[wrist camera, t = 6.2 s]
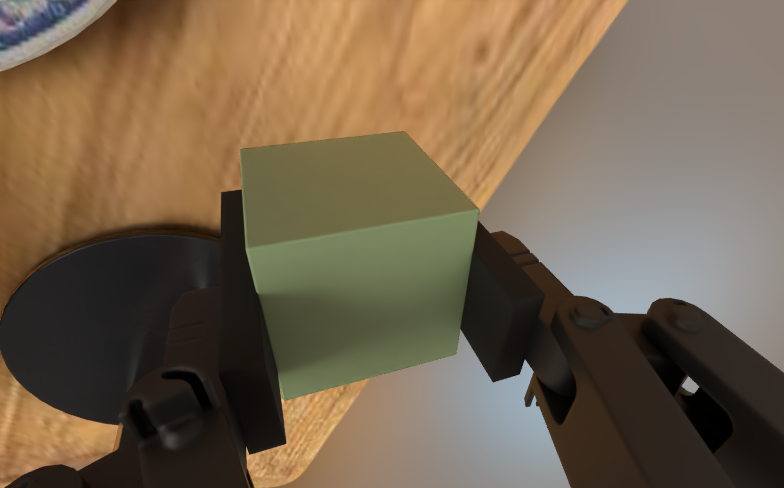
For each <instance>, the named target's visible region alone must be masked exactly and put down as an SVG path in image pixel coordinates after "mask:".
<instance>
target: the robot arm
mask: <svg viewBox="0 0 784 488" xmlns="http://www.w3.org/2000/svg"><path fill="white" fill-rule="evenodd" d="M460 329H461V330H462V332H463V334H464V336H465V337H466V339H467V340H468V342H469V344H470V345H471V347H472V349H473V350H474V352H475V353H476V355H477V357H478V358H479V360H480V362H481V363H482V365H483V367H484V368H485V370H486V372H487V373H488V375H489V377H490V378H491V380H492V382H496V381H499V380H503V379H506V378H509V377H513V376H516V375H519V374H520V372H521V369H522V366H523V363H524V360H526V361H527V363H528V364H529V365H530V367H531V368H532V370H533V371H534V373H533V376H532V378H531V381H530V384H529V387H528V390H527V392H526V395H525V398H524V399H525V406H526V407H529V406H530V405H531V403H532V400H533V397H534V395H535V397H536V400H537V402H536V406H539V407H540V410H541V412H542V415H543V417H544V420H545V422H546V425H547V428H548V430H549V433H550V435H551V438H552V440H553V443H554V446H555V448H556V451H557V453H558V455H559V458H560V461H561V463H562V466H563V469H564V471H565V473H566V476H567V479H568V481H569V484H570V486H571V488H784V373H783V372H782V371H781V370H779V369H778V368H777V367H775V366H774V365H773V364H772V363H770V362H769V361H768V360H767V359H765V358H764V357H763V356H761V355H760V354H759V353H758V352H756V351H755V350H754V349H752V348H751V347H750V346H749V345H747V344H746V343H745V342H743V341H742V340H741V339H740V338H738V337H737V336H736V335H734V334H733V333H732V332H730V331H729V330H728V329H727V328H725V327H724V326H723V325H722V324H720V323H719V322H718V321H717V320H715V319H714V318H713V317H711V316H710V315H709V314H707V313H706V312H705V311H703V310H701V309H700V308H698V307H696V306H695V305H693V304H690V303H688V302H685V301H683V300H678V299H672V298H664V299H658V300H656V301H655V302H653V303H652V304H651V306H650V308H649V310H648V312H647V314H628V313H613V311H612V310H610V308H609V307H607V306H606V305H604V304H602V303H600V302H599V301H597V300H594V299H591V298H588V297H583V296H574V295H573V294H572V293H571V292H570V291H569V290H568V289H567V288H566V287H565V286H564V285H563V284H562V283H561V282H560V281H559V280H558V279H557V278H556V277H555V276H554V275H553V274H552V273H551V272H550V271H549V270H548V269H547V268H546V267H545V266H544V265H543V264H542V263H541V262H540V263H539V260H538V259H537V258H536V257H535V256H534V255H533V254H532V253H530V251H529V250H528V249H527V248H526V247H525V246H524V244H523V243H521V241H520V240H519V239H517V238H515V237H513V236H511V235H509V234H508V233H506V232H504V231H499V232H494V233H489V232H488V231H487V230H486V229H485V227H484V226H483V225H482V224H481V223H480V222H479V221H478V224H477V230H476V237H475V243H474V249H473V253H472V259H471V265H470V271H469V277H468V283H467V289H466V295H465V302H464V308H463V314H462V320H461V326H460ZM166 342H167V345H166V348H165V354H164V361H163V366H162V367H159V368H157V369H155V370H153V371H152V372H150V373H148V374H146V375H144V376H143V377H142V378H141V379H139V380H138V381H137V382H136V383H135V384H134V385H133V386H132V387H131V388H130V389H129V390H128V392H127V393H126V395H125V397H124V398H123V400H122V402H121V403H120V409H119V415H118V419H119V420H120V422H121V423H122V424H123V426H124V427H125V429H126V430H127V432H128V433H129V434H130V436H131V437H132V439H131V440H130V441H129V442H128V443H126V444H125V445H123V446H122V447H120V448H118V449H117V450H115V451H114V452H112V453H110V454H108V455H106V456H104V457H103V458H101V459H99V460H97V461H95V462H93V463H92V464H90V465H88V466H86V467H84V468H82V469H81V470H79V471H76V470H75V469H74V468H71V467H68V466H65V465H62V464H60V465H51V466H43V467H41V468H38V469H36V470H34V471H31V472H29V473H27V474H24V475H22V476H21V477H19V478H18V479H16V480H15V481H14V482H12V483H11V484H9V485H8V486H6V487H5V488H254V485H253V482H252V479H251V476H250V474H249V471H248V469H247V459H246V447H247V449H248V452H249V455H251V454H254V453H257V452H261V451H264V450H267V449H271V448H274V447H277V446H281V445H284V444H286V436H285V427H284V419H283V411H282V403H281V395H280V387H279V378H278V372H277V368H276V364H275V360H274V356H273V352H272V348H271V344H270V340H269V336H268V332H267V328H266V324H265V320H264V315H263V311H262V307H261V303H260V299H259V295H258V293H257V292H256V289H255V285H254V281H253V277H252V273H251V269H250V265H249V261H248V257H247V253H246V245H245V230H244V214H243V199H242V190H235V191H227V192H221V239H220V286H215V287H210V288H205V289H200V290H194V291H189V292H184V293H182V295H181V296H180V298H179V299H178V300H177V302H176V303H175V305H174V306H173V308H172V309H171V314H170V321H169V330H168V334H167V341H166ZM688 376H689V377H690V378H691V379H692V380H693V381H694V382H695V383H696V384H697V385H698V386H699V388H698V390H697V391H696V392H695V393H691V392H688V391H686V390H685V389H684V388H683V387H682V384H683V383H684V382H685V380H686V379H687V377H688Z"/></svg>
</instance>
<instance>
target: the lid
mask: <svg viewBox="0 0 784 488" xmlns="http://www.w3.org/2000/svg"><path fill="white" fill-rule="evenodd" d="M220 239H221V238H219V237H215V236H211V235H206V234H201V233H196V232H190V231H180V230H137V231H127V232H121V233H116V234H111V235H106V236H101V237H98V238H95V239H92V240H89V241H85V242H82V243H79V244H77V245H75V246H73V247H70V248H68V249H66V250H64V251H61V252H59V253H58V254H56V255H54V256H53V257H51V258H50V259H48V260H46V261H45V262H43V263H41V264H40V265H39V266H38V267H37V268H36V269H34V270H33V271H32V272H31V273H30V274H28V275H27V276H26V277H25V279H24V280H23V281H22V282H21V283H20V285H19V286H18V287H17V288H16V289H15V291H14V292H13V294H12V296H11V297H10V299H9V301H8V303H7V305H6V306H5V308H4V310H3V314H2V317H1V321H0V349H1V354H2V356H3V359H4V361H5V363H6V365H7V367H8V369H9V370H10V372H11V373H12V375H13V376H14V377H15V379H16V380H17V381H18V382H19V383H20V384H21V385H22V386H23V387H24V388H25V389H26V390H27V391H29V392H30V393H31V394H33V395H34V396H35V397H37V398H38V399H39V400H41V401H43V402H45V403H47V404H48V405H50V406H52V407H54V408H56V409H58V410H61V411H63V412H65V413H68V414H70V415H73V416H77V417H80V418H83V419H86V420H91V421H95V422H100V423H105V424H112V425H119V427H118V431H117V436H116V440H115V444H114V449H113V452H114V451H115V450H117V449H118V448H120V447H122V446H123V445H125V444H126V443H128V442H129V441H130V440H131V439H132V437H131V436H130V434H129V433H128V432H127V430H126V429H125V427H124V426H123V424H122V423H121V422H120V420H119V419H118V415H119V409H120V403H121V402H122V400H123V398H124V397H125V395H126V393H127V392H128V390H129V389H130V388H131V387H132V386H133V385H134V384H135V383H136V382H137V381H138V380H139V379H141V378H142V377H143V376H144V375H146V374H148V373H150V372H152V371H153V370H155V369H157V368H159V367H162V366H163V361H164V354H165V348H166V345H167V342H166V341H167V334H168V330H169V321H170V314H171V309H172V308H173V306H174V305H175V303H176V302H177V300H178V299H179V298H180V296H181V295H182V293H184V292H189V291H194V290H200V289H205V288H210V287H215V286H220Z"/></svg>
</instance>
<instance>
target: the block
mask: <svg viewBox="0 0 784 488" xmlns="http://www.w3.org/2000/svg"><path fill="white" fill-rule="evenodd" d="M239 153H240V168H241V183H242V199H243V214H244V230H245V245H246V253H247V257H248V261H249V265H250V269H251V273H252V277H253V281H254V285H255V289H256V292H257V293H258V295H259V299H260V303H261V307H262V311H263V315H264V320H265V324H266V328H267V332H268V336H269V340H270V344H271V348H272V352H273V356H274V360H275V364H276V368H277V372H278V378H279V385H280V389H281V393H282V397H283V399H284V400H289V399H293V398H297V397H301V396H304V395H308V394H312V393H315V392H319V391H323V390H326V389H330V388H334V387H338V386H341V385H345V384H349V383H352V382H356V381H360V380H364V379H367V378H371V377H375V376H378V375H382V374H386V373H389V372H393V371H397V370H400V369H404V368H408V367H412V366H415V365H419V364H423V363H426V362H430V361H433V360H437V359H441V358H445V357H449V356H452V355H455V354H456V353H457V352H456V351H457V346H458V340H459V334H460V326H461V320H462V314H463V308H464V302H465V295H466V289H467V283H468V277H469V271H470V265H471V259H472V253H473V249H474V243H475V237H476V230H477V224H478V218H479V212H480V211H479V208H478V207H477V206H476V205H475V204H474V203H473V202H472V201H471V200H470V199H469V198H468V197H467V196H466V195H465V194H464V192H463V191H462V190H461V189H460V188H459V187H458V186H457V185H456V184H455V183H454V182H453V181H452V180H451V179H450V178H449V177H448V176H447V175H446V174H445V173H444V172H443V171H442V170H441V169H440V168H439V166H438V165H437V164H436V163H435V162H434V161H433V160H432V159H431V158H430V157H429V156H428V155H427V154H426V153H425V152H424V151H423V150H422V149H421V148H420V147H419V146H418V145H417V144H416V143H415V141H414V140H413V139H412V138H411V137H410V136H409V135H408V134H407V133H406V132H404V131H401V132H392V133H383V134H374V135H365V136H355V137H346V138H337V139H328V140H318V141H309V142H300V143H291V144H282V145H272V146H263V147H254V148H245V149H240V151H239Z"/></svg>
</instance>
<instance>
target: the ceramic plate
mask: <svg viewBox="0 0 784 488" xmlns="http://www.w3.org/2000/svg"><path fill="white" fill-rule="evenodd" d="M116 1H117V0H0V71H4V70H7V69H10V68H13V67H15V66H17V65H20V64H22V63H25V62H27V61H29V60H32V59H34V58H36V57H39V56H41V55H43V54H45V53H47V52H49V51H51V50H52V49H54V48H56V47H57V46H59V45H61V44H63V43H64V42H66V41H68V40H70V39H71V38H73V37H75V36H76V35H77V34H79V33H80V32H81V31H83V30H84V29H85V28H87V27H88V26H89V25H90V24H92V23H93V22H94V21H96V20H97V19H98V18H100V17H101V16H102V15H103V14H104V13H105V12H106V11H107V10H108V9H109V8H110V7H111V6H112V5H113V4H114V3H115V2H116Z"/></svg>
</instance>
